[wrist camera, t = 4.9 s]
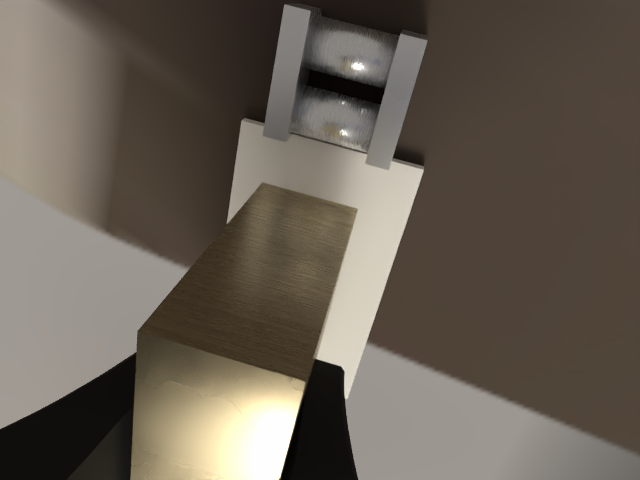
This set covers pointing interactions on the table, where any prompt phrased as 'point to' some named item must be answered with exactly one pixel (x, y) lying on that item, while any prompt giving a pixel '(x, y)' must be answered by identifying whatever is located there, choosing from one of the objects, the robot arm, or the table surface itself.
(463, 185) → the table surface
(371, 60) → the chain ends
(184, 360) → the wood grain block
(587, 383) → the table surface
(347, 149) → the pad
